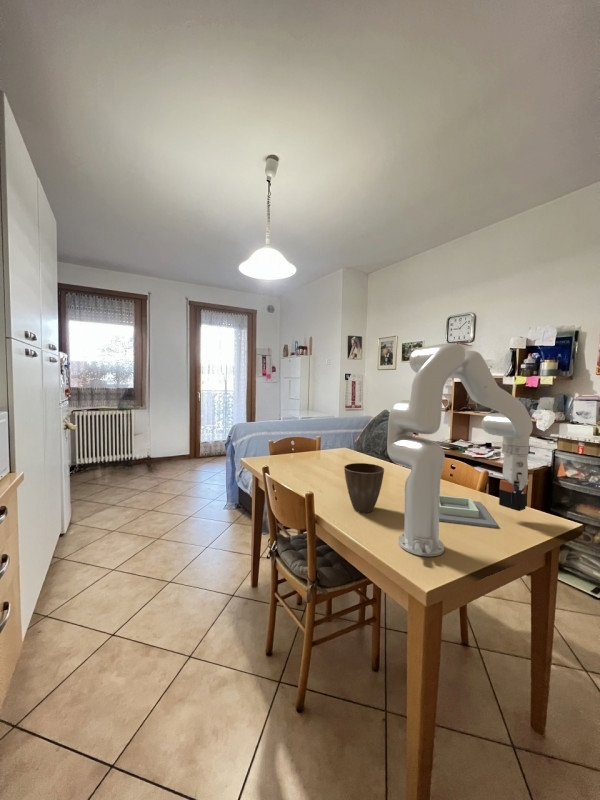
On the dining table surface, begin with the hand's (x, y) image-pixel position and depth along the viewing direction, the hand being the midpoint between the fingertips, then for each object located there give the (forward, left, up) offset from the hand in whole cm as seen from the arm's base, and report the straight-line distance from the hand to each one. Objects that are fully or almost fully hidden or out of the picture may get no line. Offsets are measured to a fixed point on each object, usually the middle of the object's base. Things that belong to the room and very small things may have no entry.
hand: (512, 500), depth 109 cm
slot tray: (+4, +17, -7) cm, 19 cm away
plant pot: (-4, +50, -8) cm, 51 cm away
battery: (0, 0, -3) cm, 3 cm away
